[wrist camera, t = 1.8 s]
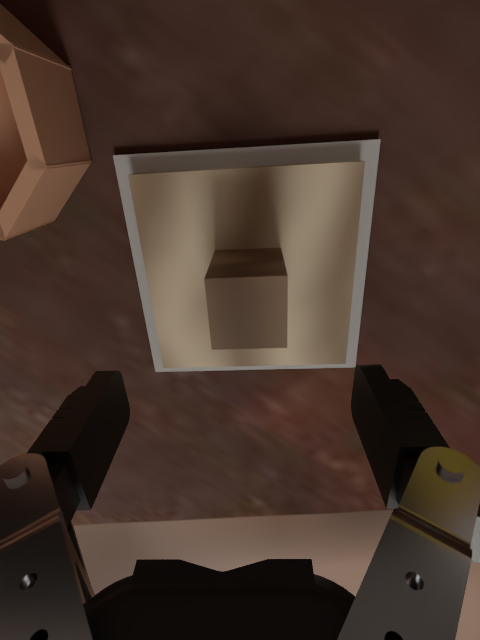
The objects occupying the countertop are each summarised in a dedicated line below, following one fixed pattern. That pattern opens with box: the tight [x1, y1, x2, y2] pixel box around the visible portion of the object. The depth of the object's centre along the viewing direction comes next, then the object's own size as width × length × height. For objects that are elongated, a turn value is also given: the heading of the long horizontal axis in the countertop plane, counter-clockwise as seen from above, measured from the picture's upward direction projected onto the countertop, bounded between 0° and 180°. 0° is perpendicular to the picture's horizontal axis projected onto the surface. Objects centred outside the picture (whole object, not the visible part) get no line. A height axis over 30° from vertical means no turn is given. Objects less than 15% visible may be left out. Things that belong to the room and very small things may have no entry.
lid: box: [128, 160, 365, 368], centre depth 20 cm, size 13×13×6 cm
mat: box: [113, 139, 381, 372], centre depth 23 cm, size 15×15×1 cm
